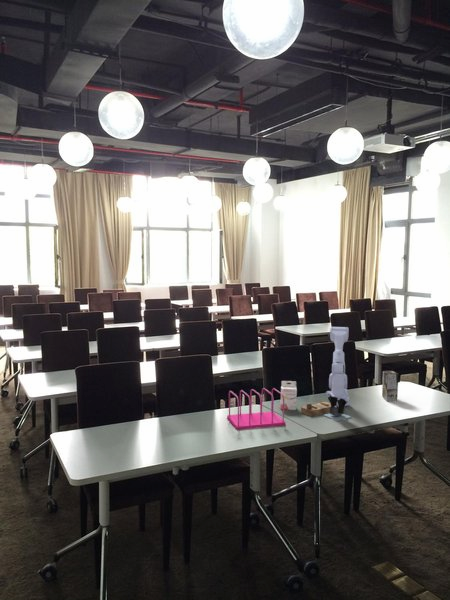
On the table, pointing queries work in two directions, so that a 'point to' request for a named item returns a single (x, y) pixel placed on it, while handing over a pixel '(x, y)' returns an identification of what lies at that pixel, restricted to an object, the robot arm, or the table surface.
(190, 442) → the table surface
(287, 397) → the ink cartridge box
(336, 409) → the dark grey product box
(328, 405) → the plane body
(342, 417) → the rubber mat
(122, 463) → the table surface
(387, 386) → the coffee box
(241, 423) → the file sorter
